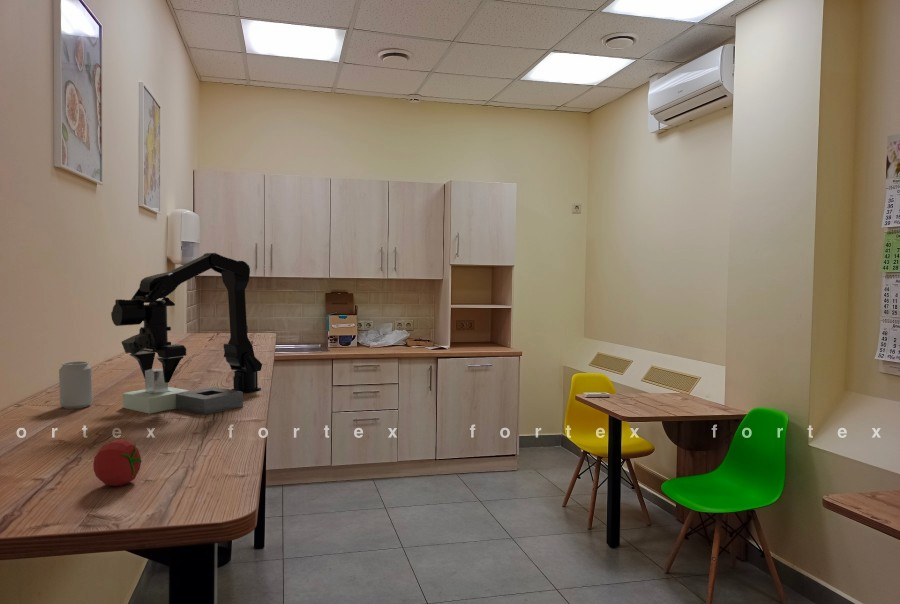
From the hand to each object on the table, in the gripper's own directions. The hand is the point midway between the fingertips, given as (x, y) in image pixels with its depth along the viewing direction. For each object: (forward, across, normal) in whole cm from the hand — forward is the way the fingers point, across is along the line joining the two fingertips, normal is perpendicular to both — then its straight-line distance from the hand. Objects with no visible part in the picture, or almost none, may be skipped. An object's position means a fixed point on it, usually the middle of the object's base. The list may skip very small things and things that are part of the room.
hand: (156, 380), depth 168 cm
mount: (+7, +13, +7) cm, 16 cm away
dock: (+7, 0, 0) cm, 7 cm away
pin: (+7, 0, 0) cm, 7 cm away
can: (+7, -18, -12) cm, 23 cm away
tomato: (+7, +51, -39) cm, 65 cm away
